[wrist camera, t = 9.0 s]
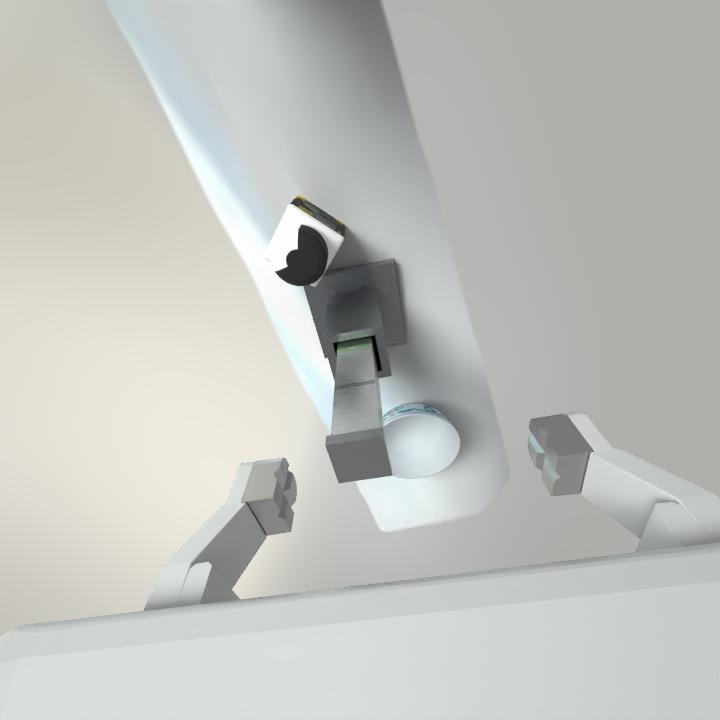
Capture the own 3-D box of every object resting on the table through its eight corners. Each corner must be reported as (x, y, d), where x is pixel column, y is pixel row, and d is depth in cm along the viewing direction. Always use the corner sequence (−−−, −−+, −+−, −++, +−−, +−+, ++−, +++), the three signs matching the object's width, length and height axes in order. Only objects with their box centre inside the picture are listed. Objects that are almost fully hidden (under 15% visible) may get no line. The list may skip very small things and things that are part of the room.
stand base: (303, 276, 51) (288, 318, 39) (393, 258, 49) (405, 296, 38) (325, 353, 57) (318, 407, 46) (405, 338, 56) (418, 390, 45)
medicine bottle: (346, 225, 47) (344, 250, 37) (320, 270, 50) (311, 304, 40) (297, 193, 45) (281, 211, 35) (273, 242, 48) (252, 271, 38)
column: (336, 320, 46) (325, 445, 28) (371, 313, 46) (383, 436, 27) (344, 350, 49) (338, 483, 30) (377, 344, 48) (392, 475, 30)
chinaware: (447, 377, 60) (458, 407, 54) (452, 439, 68) (462, 472, 62) (360, 392, 62) (361, 422, 55) (375, 451, 70) (377, 484, 63)
